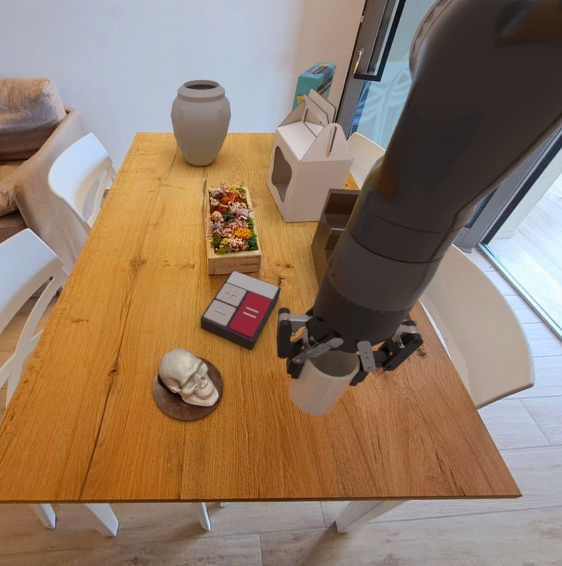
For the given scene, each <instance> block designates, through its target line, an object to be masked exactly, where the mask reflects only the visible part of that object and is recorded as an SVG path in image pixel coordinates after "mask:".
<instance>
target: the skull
mask: <svg viewBox="0 0 562 566" xmlns="http://www.w3.org/2000/svg"><path fill="white" fill-rule="evenodd" d="M151 387H152V390H151V391H152V397H153V400H154V402H155V404H156V406H157V407H158V408H159V410H160V411H161V412H163V413H164V414H165V415H167V416H169V417H171V418H172V419H176V420H179V421H192V420H193V421H194V420H198V419H201V418H203V417H205V416H207V415H209V414H210V413H211V412H213V411H214V410H215V409H216V407H218V405H219V404H220V402H221V400H222V398H223V397H222V396H223V393H224V380H223V376H222V374H221V373H220V370H219V369H218V368H217V366H216V365H214V364H213V362H211V361H209V360H208V359H206V358H204V357H200V356H197V355H195V354H194V353H192V352H191V351H189V350H187V349H186V348H181V347H179V348H174V349H172V350H170V351H168V352H166V353H164V354H163V356H162V358H161V360H160V362H159V365H158V371H157V372H156V373H155V375H154V378H153V381H152V386H151Z"/></svg>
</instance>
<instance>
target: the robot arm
mask: <svg viewBox="0 0 562 566" xmlns="http://www.w3.org/2000/svg"><path fill="white" fill-rule="evenodd" d="M412 37H413V38H412V40H411V44H410V49H409V53H408V68H409V75H410V78H411V84H410V87H409V89H408V93H407V96H406V99H405V102H404V104H403V107H402V110H401V112H400V114H399V117H398V120H397V122H396V124H395V127H394V129H393V132H392V134H391V137H390V139H389V142H388V144H387V147H386V149H385V151H384V154H383V155H382V156H380V157H379V158H378V159H377V160H376V161H375V162H374V163H373V165H372V166H371V167H370V169H369V171H368V173H367V174H366V176H365V178H364V181H363V183H362V185H361V188H360V189H359V190H360V193H359V196H358V198H357V201H356V203H355V206H354V209H353V211H352V214H351V216H350V219H349V221H348V223H347V225H346V228H345V229H344V231H343V233H342V234H341V236H340V238H339V240H338V241H337V244H336V246H335V249H334V251H333V254H332V255H331V256H330V258H329V261H328V267H327V270H326V272H325V275H324V278H323V280H322V283H321V286H320V288H319V287H318V291H317V294H316V297H315V300H314V303H313V305H312V306H311V307H310V308H309V309H307V311H306V312H305V313H291V310H290V308H288V307H284V306H283V307H280V308H279V309H278V311H277V325H276V355H277V358H279V359H281V360H284V359H286V360H285V369H286V373H287V375H290V380H291V379H298V377H299V374H300V372H301V370H302V367H303V365H304V361H306V360H307V359H309V358H311V357H313V358H317V357H319V356H320V355H322V354H323V353H325V352H327V351H343V352H347V353H354V354H355V353H356V352H357V353H358V357H359V360H360V367H359V371H358V373H357V374H356V376H355V377H354V379H353V380H352V382H351V383H350V385H349V386H348V387H357V385H358V384H361V383H362V382H364V381H365V380H366V378H367V377H368V375H369V374H370V373H373V372H375V371H376V370H377V369H378V368H382V369H383V370H384V371H385V372H394V371H395V370H396V369H398V367H400V366H401V365H402V364H403V363H404V362H405V361H406V360H407V359H408V358H409V357H411V356H412V355H413V354H414V353H415V352H416V351H417V350H418V349H419V348H420V347H422V345H423V344H424V340H423V337H422V334H421V331H420V330H419V326H418V325H417V324H416V323H415V321H416V320H415V321H413V319H411V320H407V321H404V319H405V318H406V317H407V315H408V314H409V315H410V312H411V311H412V309H413V308H414V307H415V305H416V304H417V303H418V301H419V299H420V298H421V297H422V296H423V294H424V292H425V291H426V289H427V288H428V287H429V285H430V284H431V282H432V281H433V279H434V277H435V276H436V273H437V272H438V269H439V268H440V265H441V263H442V261H443V259H444V258H445V256H446V254H447V252H448V251H449V249H450V248H451V247H452V245H453V244H454V242H455V241H456V239H457V238H458V236H459V235H460V234H461V232H462V230H463V229H464V228H465V226H466V224H467V223H468V222H469V220H470V219H471V217H472V216H473V214H474V212H475V210H476V208H477V207H478V205H479V204H480V203H481V202H482V201H484V199H486V198H487V197H488V196H489V195H490V194H491V193H493V192H494V191H495V190H496V189H497V188H499V187H500V186H501V185H502V184H503V183H504V182H505V181H507V180H508V178H510V177H511V176H512V175H513V174H514V172H516V171H517V170H518V169H519V168H520V167H521V166H522V165H523V164H524V163H525V162H526V161H528V159H529V158H531V156H533V155H534V153H536V151H538V150H539V149H540V148H541V147H542V146H543V145H544V144H545V143H546V142H547V141H548V140H549V139H550V138H551V137H552V136H553V135H554V134H555V133H556V132H557V131H558V130H559V129H560V128H561V127H562V0H434V2H433V3H432V5H431V6H430V7H429V8H428V10H427V12H426V13H425V14H424V16H423V17H422V19H421V20H420V23H419V24H418V26H417V28H416V30H415V33H414V35H413V36H412ZM403 321H404V322H403ZM402 322H403V323H402ZM303 327H304V328H303ZM301 328H303V329H302V331H301V334H300V335H299V336H297V337H296V333H298V332H299V330H300V329H301ZM292 337H296V338H295V339H293V340H291V339H292ZM379 344H380V346H379V347H378V348H377V350H373V347H375V346H377V345H379Z"/></svg>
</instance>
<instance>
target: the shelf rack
mask: <svg viewBox="0 0 562 566" xmlns="http://www.w3.org/2000/svg"><path fill="white" fill-rule="evenodd" d="M360 190H361V189H347V188H346V189H345V188H343V189H333V188H330V189H329V192H328V195H327V198H326V201H325V204H324V207H323V210H322V213H321V216H320V220H319V221H318V223H317V226H316V229H315V232H314V235H313V239H312V241H311V245H310V248H311V255H312V259H313V265H314V269H315V274H316V275H315V276H316V280H317V285H318V289H319V288H320V286H321V283H322V280H323V278H324V275H325V272H326V270H327V267H328V261H329V258H330V256H331V255H332V254H333V251H334V249H335V246H336V244H337V241H338V240H339V238H340V236H341V234H342V233H343V231H344V229H345V228H346V225H347V223H348V221H349V219H350V216H351V214H352V211H353V209H354V206H355V203H356V201H357V198H358V196H359V193H360ZM407 320H413V319H412V317H411V315H410V313H409V314H408V315H407V317H406V318H405V319H404V321H407ZM404 321H403V322H404ZM413 321H415V323H416V325H417V324H418V320H416V319H415V320H413ZM403 322H402V323H403Z"/></svg>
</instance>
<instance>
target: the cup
mask: <svg viewBox="0 0 562 566" xmlns="http://www.w3.org/2000/svg"><path fill="white" fill-rule="evenodd" d="M358 355H359V353H358V352H356V353H355V354H354V353H347V352H343V351H327V352H325V353H323V354H322V355H320V356H319V357H317V358H313V357H311V358H309V359H307V360H306V361H304V365H303V367H302V370H301V372H300V374H299V377H298V379H291V378H290V381H289V385H288V394H289V398H290V400H291V401H292V403H293V404H294V405H295V407H296V408H297V409H299V410H300V411H301V412H303V413H304V414H307V415H308V416H309V415H310V416H315V417H322V416H326V415H328V414H330V413H331V412H332V411H333V410H334V409H335V407H336V406H337V405H338V403H339V401H340V400H341V398H342V397H343V396H344V394H345V393H346V391H347V390H348V388H349V387H350V386H349V385H350V383H351V382H352V380H353V379H354V377H355V376H356V374H357V373H358V371H359V367H360V360H359V357H358Z"/></svg>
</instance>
